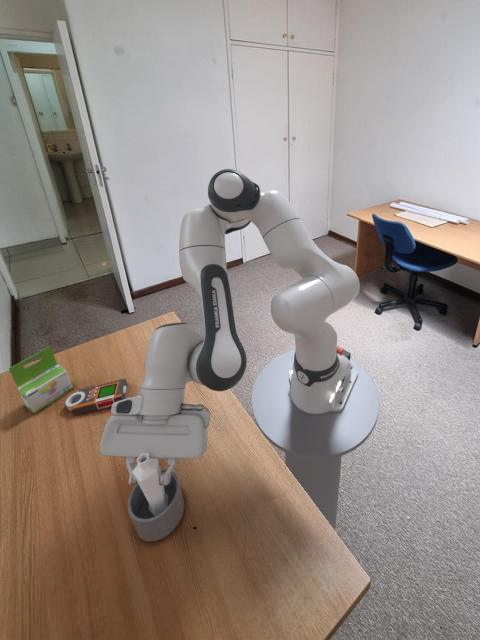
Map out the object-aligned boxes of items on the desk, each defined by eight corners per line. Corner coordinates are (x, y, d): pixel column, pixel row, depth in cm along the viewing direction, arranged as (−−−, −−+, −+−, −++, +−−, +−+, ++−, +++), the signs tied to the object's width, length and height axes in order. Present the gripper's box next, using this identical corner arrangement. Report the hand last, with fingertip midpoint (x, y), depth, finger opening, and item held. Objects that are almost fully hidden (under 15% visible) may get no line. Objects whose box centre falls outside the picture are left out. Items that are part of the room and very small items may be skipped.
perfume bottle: (147, 496, 67) (130, 450, 61) (170, 489, 69) (155, 443, 62) (145, 522, 63) (126, 475, 57) (169, 513, 65) (153, 466, 58)
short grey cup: (168, 478, 74) (162, 459, 71) (193, 508, 68) (188, 489, 65) (126, 517, 67) (118, 498, 64) (150, 554, 62) (143, 534, 59)
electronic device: (69, 391, 92) (126, 377, 96) (72, 398, 93) (129, 384, 97) (60, 411, 86) (122, 396, 90) (64, 419, 88) (125, 403, 91)
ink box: (33, 415, 88) (14, 377, 82) (25, 406, 91) (6, 368, 85) (74, 388, 96) (59, 352, 90) (65, 380, 99) (50, 344, 93)
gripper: (215, 402, 69) (207, 479, 65) (121, 400, 70) (106, 476, 65) (206, 406, 63) (197, 491, 59) (104, 404, 64) (86, 488, 59)
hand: (148, 483), depth 62 cm, fingers closed on perfume bottle, 4 cm apart
